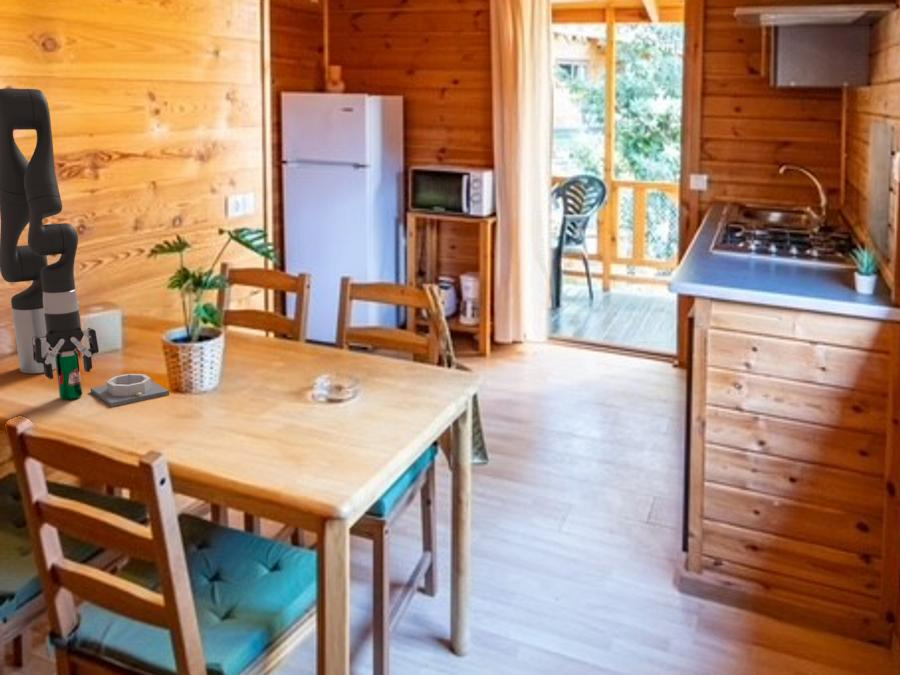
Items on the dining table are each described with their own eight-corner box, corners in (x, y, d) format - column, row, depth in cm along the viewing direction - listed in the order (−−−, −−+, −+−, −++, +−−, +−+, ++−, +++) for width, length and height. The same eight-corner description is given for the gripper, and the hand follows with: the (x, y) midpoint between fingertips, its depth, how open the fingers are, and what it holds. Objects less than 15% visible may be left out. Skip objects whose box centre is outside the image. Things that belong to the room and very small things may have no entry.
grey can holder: (90, 392, 211) (89, 378, 210) (146, 380, 220) (145, 367, 219) (111, 406, 201) (110, 392, 200) (169, 394, 210) (168, 381, 209)
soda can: (74, 401, 204) (68, 353, 201) (55, 400, 205) (49, 352, 202) (86, 394, 209) (81, 347, 206) (68, 393, 210) (63, 346, 207)
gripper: (86, 302, 209) (93, 366, 213) (24, 310, 200) (32, 377, 204) (97, 307, 203) (104, 372, 207) (33, 316, 194) (42, 384, 198)
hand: (69, 374), depth 205 cm, fingers open, 8 cm apart
